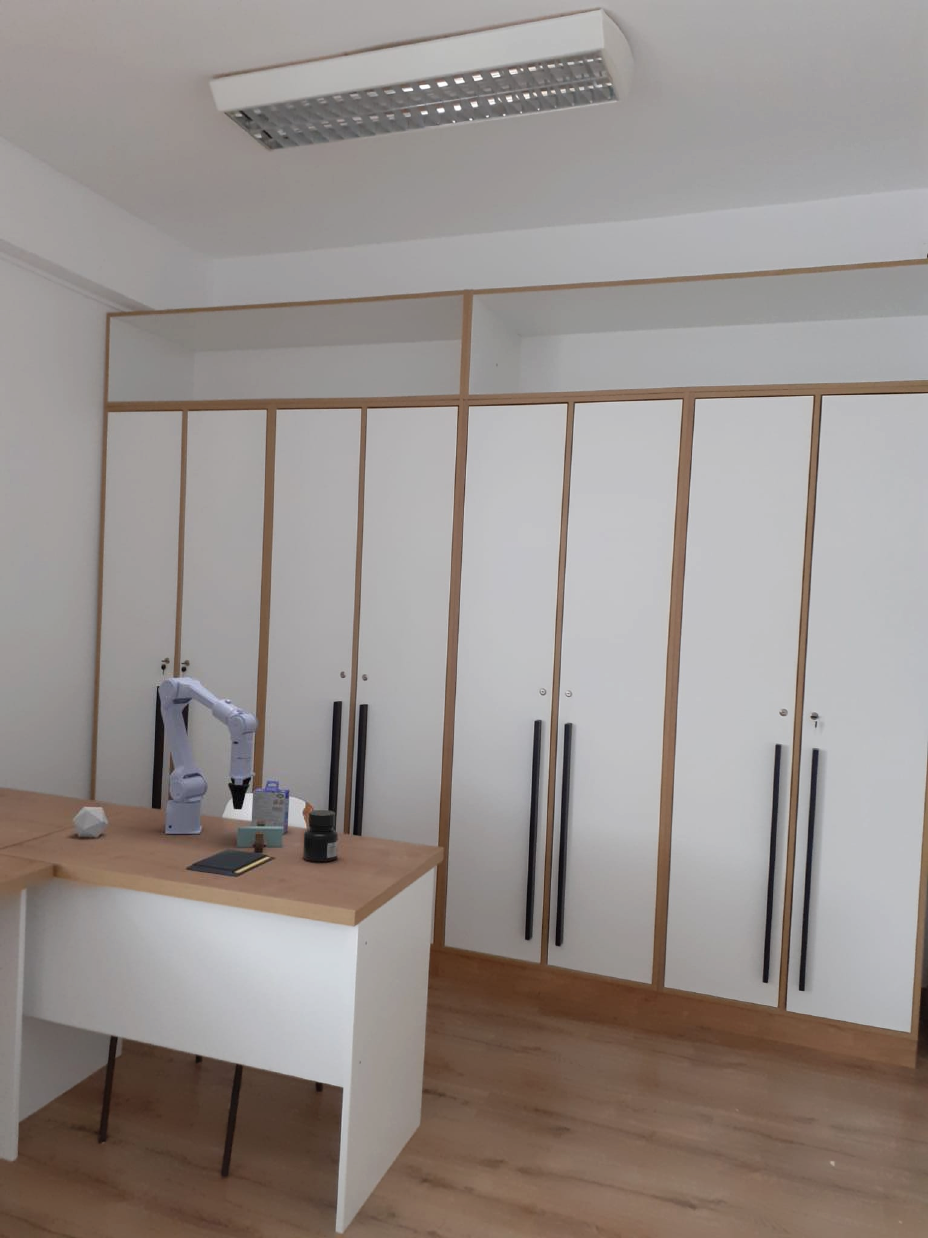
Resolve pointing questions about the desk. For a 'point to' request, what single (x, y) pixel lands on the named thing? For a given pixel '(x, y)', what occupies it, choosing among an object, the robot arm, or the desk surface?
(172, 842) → the desk surface
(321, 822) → the ink bottle
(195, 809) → the robot arm
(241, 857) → the wallet
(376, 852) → the desk surface
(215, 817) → the desk surface
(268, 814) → the ink cartridge box
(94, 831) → the die
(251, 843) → the teal curved block
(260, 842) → the rail
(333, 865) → the desk surface
